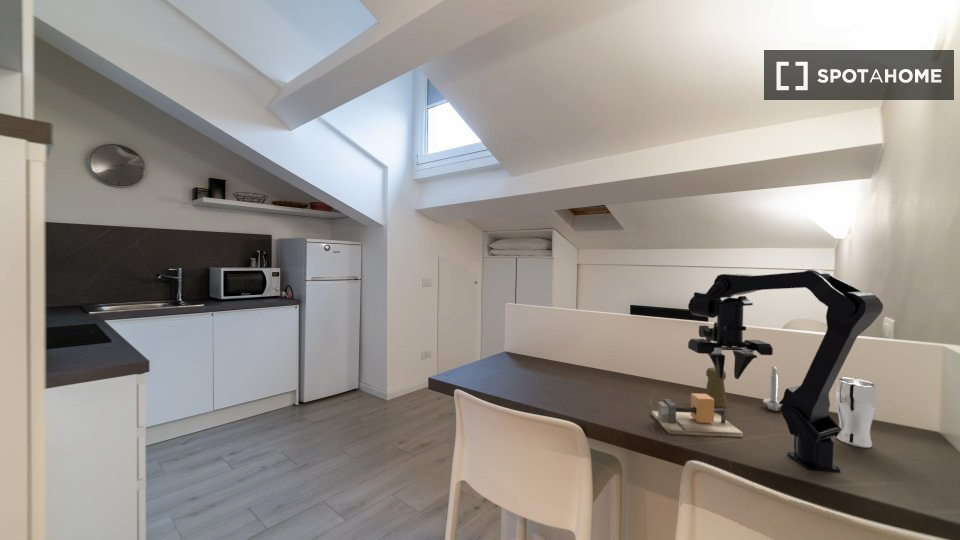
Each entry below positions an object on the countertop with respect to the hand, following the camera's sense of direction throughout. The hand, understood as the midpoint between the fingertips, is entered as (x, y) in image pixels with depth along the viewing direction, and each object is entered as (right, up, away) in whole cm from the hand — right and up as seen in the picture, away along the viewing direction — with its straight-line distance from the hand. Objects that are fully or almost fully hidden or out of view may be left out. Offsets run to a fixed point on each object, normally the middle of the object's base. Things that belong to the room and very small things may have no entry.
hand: (728, 378), depth 98 cm
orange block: (-6, -11, +1) cm, 13 cm away
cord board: (-8, -13, +1) cm, 16 cm away
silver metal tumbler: (+26, -14, -8) cm, 30 cm away
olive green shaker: (+7, -13, +16) cm, 21 cm away
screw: (+21, -13, +12) cm, 28 cm away
